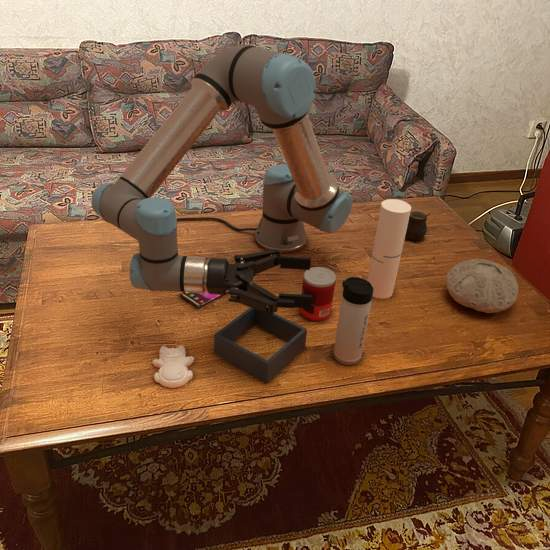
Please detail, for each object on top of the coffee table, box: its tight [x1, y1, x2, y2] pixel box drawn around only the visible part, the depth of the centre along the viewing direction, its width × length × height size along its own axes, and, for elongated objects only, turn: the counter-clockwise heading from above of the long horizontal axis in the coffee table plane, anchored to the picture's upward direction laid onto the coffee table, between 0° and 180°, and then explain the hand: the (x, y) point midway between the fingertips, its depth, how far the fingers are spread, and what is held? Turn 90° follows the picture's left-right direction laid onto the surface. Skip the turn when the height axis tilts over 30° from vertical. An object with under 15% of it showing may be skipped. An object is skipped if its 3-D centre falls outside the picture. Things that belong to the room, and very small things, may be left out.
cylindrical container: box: [366, 198, 412, 300], centre depth 140 cm, size 7×7×25 cm
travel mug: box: [332, 276, 374, 366], centre depth 119 cm, size 6×7×20 cm
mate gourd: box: [405, 210, 432, 242], centre depth 169 cm, size 7×8×10 cm
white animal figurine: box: [152, 344, 195, 389], centre depth 118 cm, size 9×12×3 cm
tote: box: [213, 307, 308, 384], centre depth 123 cm, size 15×15×6 cm
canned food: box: [299, 266, 337, 322], centre depth 134 cm, size 8×8×11 cm
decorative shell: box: [445, 257, 520, 314], centre depth 143 cm, size 18×18×10 cm
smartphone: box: [179, 291, 228, 308], centre depth 142 cm, size 7×15×1 cm, turn 137°
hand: (311, 282), depth 114 cm, fingers open, 13 cm apart
